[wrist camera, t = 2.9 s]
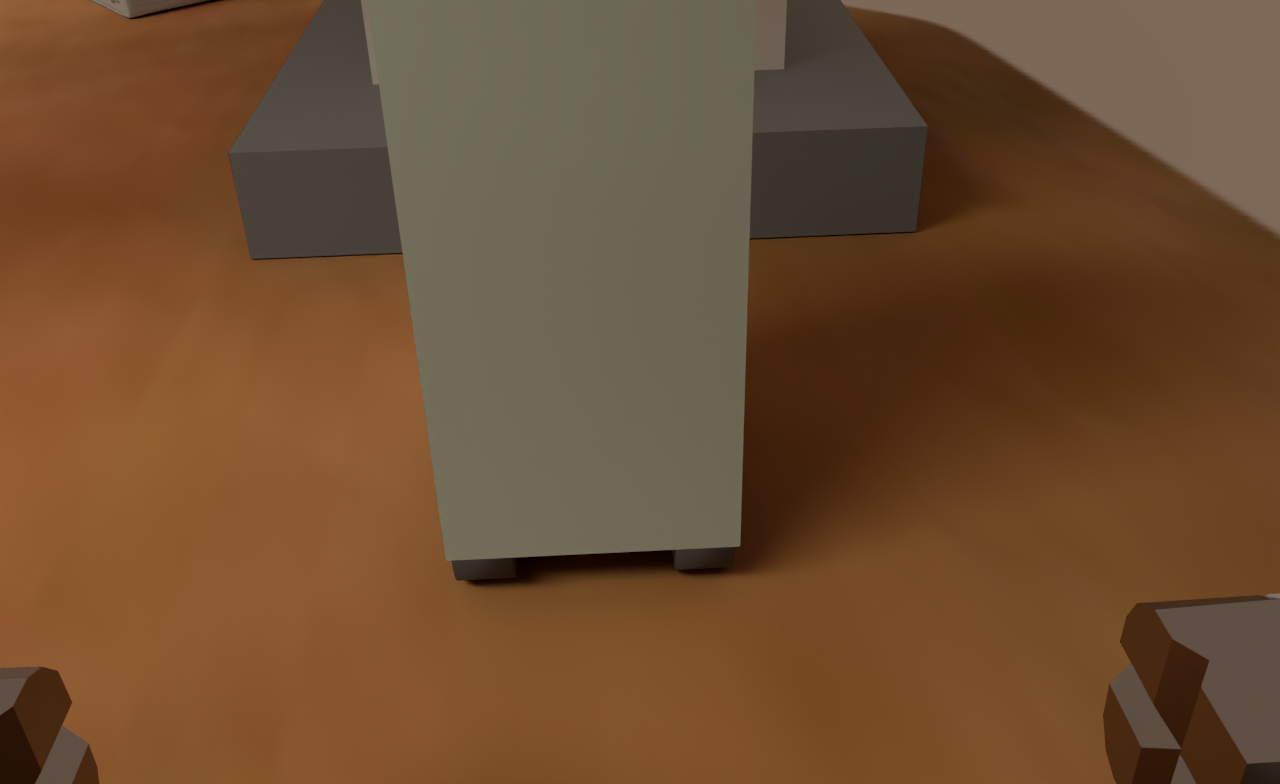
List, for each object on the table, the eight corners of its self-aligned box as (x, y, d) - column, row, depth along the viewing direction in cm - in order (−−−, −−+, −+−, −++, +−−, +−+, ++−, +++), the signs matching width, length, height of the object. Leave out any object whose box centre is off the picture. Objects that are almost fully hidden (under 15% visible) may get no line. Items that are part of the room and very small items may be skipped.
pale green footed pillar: (452, 604, 21) (347, -139, 15) (474, 413, 26) (403, -204, 20) (738, 590, 21) (761, -152, 15) (706, 402, 26) (711, -213, 20)
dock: (251, 259, 33) (207, 56, 30) (343, 69, 46) (319, -83, 43) (916, 231, 33) (938, 29, 30) (815, 52, 47) (824, -100, 44)
